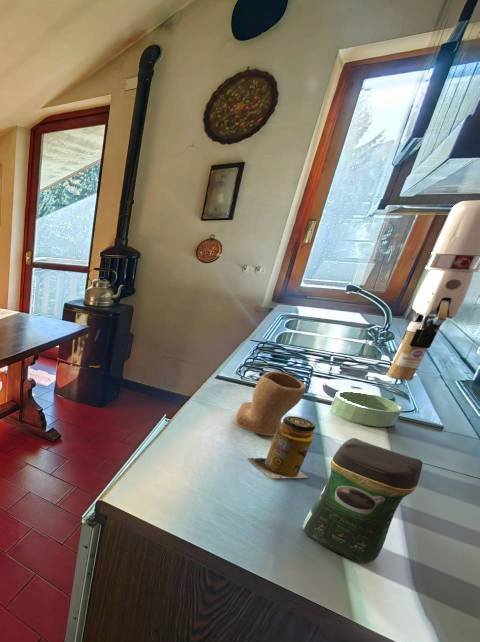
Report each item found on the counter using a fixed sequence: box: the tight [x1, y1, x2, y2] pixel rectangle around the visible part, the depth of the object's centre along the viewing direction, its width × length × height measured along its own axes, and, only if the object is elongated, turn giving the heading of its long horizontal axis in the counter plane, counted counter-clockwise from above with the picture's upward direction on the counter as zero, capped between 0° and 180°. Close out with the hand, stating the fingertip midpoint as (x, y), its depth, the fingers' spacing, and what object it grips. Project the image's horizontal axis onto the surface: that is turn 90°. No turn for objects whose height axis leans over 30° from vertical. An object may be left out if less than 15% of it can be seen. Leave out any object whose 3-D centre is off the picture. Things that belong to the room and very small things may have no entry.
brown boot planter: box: [234, 371, 307, 437], centre depth 100 cm, size 15×12×15 cm
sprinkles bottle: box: [386, 322, 428, 382], centre depth 92 cm, size 5×5×14 cm
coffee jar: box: [302, 437, 423, 563], centre depth 63 cm, size 10×8×19 cm
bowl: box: [329, 390, 404, 428], centre depth 107 cm, size 13×13×5 cm
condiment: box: [246, 415, 316, 479], centre depth 83 cm, size 7×8×12 cm
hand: (415, 343), depth 91 cm, fingers closed on sprinkles bottle, 4 cm apart
